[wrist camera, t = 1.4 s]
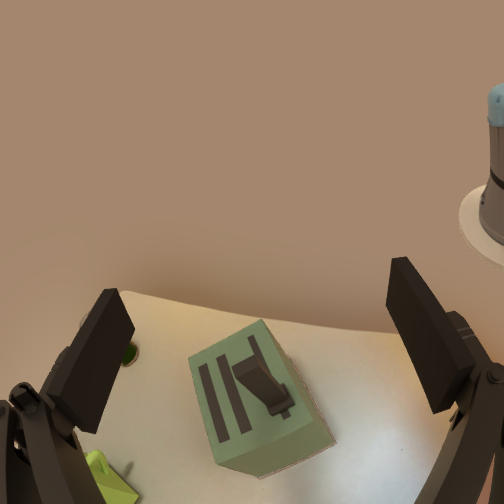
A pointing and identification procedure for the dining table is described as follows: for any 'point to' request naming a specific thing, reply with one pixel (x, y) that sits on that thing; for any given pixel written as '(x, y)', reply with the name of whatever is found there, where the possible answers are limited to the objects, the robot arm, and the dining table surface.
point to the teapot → (109, 480)
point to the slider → (263, 385)
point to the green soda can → (130, 353)
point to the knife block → (255, 407)
